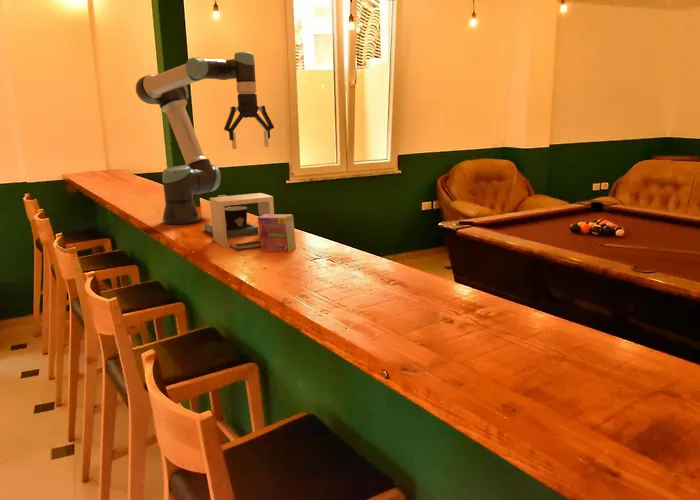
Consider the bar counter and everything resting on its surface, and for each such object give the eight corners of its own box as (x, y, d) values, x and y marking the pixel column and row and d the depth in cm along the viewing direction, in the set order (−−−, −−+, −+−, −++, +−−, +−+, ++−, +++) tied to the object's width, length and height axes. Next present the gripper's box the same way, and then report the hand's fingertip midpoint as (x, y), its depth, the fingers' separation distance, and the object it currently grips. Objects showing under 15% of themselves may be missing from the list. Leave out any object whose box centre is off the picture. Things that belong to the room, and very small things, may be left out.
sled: (204, 229, 221) (201, 197, 218) (241, 225, 228) (239, 193, 225) (219, 238, 204) (216, 203, 201) (258, 233, 211) (256, 199, 208)
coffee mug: (250, 231, 216) (248, 206, 214) (248, 236, 208) (246, 209, 205) (219, 233, 215) (217, 207, 213) (216, 237, 207) (214, 211, 204)
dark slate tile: (229, 246, 193) (229, 243, 192) (272, 240, 200) (272, 237, 200) (236, 251, 186) (236, 247, 185) (281, 244, 193) (281, 241, 193)
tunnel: (213, 240, 203) (209, 197, 199) (263, 233, 212) (261, 192, 208) (223, 246, 193) (219, 202, 189) (275, 239, 202) (273, 196, 198)
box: (260, 251, 187) (257, 216, 184) (269, 247, 192) (266, 213, 189) (288, 252, 183) (285, 217, 180) (296, 248, 188) (293, 214, 185)
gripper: (218, 93, 213) (223, 150, 218) (279, 92, 224) (282, 146, 229) (213, 94, 219) (218, 149, 224) (273, 93, 230) (276, 145, 236)
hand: (250, 147), depth 227 cm, fingers open, 13 cm apart
